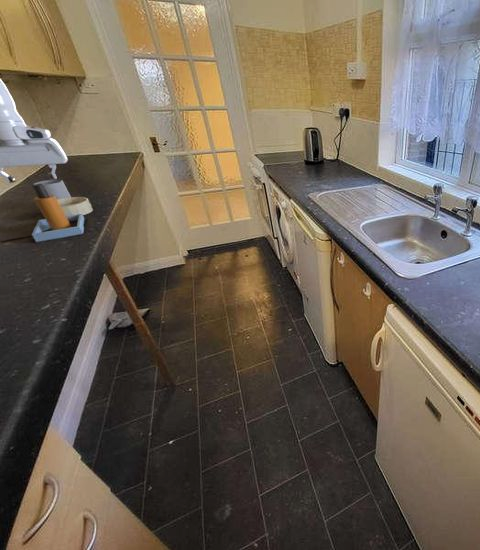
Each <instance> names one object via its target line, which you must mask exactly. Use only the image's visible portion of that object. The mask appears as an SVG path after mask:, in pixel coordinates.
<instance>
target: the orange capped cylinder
mask: <svg viewBox="0 0 480 550" xmlns="http://www.w3.org/2000/svg"><path fill="white" fill-rule="evenodd" d="M31 187H32V189H33V190H34V193H35V194H36V197H34V198H33V200H34V202H35V204H36V206H37V207H38V209H39V210H40V212H41V214H42V216H43V218H44V219H46V221H47V222H48V224H49V226H50V228H49V229H50V230H51V231H52V230H59V229H65V228H71V227H72V225H71V223H70V221H68V219H67V218H66V216H65V214H64V212H63V210H62V208H61V206H60V205H59V203H58V201H57V199H56V197H55V196H54V195H49V194H48V192H47V190H46V189H45V187H44V185H43V184H35V185H34V184H32V185H31Z"/></svg>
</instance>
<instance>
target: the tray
mask: <svg viewBox="0 0 480 550" xmlns="http://www.w3.org/2000/svg"><path fill="white" fill-rule="evenodd" d="M66 218H67V219H68V221H69V222H75V221H77V224H76V226H71V228H65V229H59V230H52V229H51V228H50V226H49V224H48V222H47V221H46V219H45V218H43V219H38V221H37V223H36V225H35V227H34V229H33V231H32V232H31V236H32V238H33V239H34V241H35V242H36V243H39V242H44V241H49V240H56V239H63V238H67V237H72V236H73V237H74V236H77V235H78V236H79V235H83V234H84V231H85V226H84V224H85V217H84V215H82V214H75V215H69V216H66ZM49 229H51V230H49Z"/></svg>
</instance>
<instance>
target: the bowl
mask: <svg viewBox="0 0 480 550" xmlns="http://www.w3.org/2000/svg"><path fill="white" fill-rule="evenodd" d="M57 201H58V203H59V205H60V206H61V208H62V210H63V212H64V214H65V216H69V215H75V214H82V215H83V216H86V215H87V214H90V213H92V212H93V211H94V208H93V206H92V204H91V202H90V200H89V198H88V197H84V196H71V197H70V198H62V199H57Z"/></svg>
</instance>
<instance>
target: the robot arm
mask: <svg viewBox="0 0 480 550" xmlns="http://www.w3.org/2000/svg"><path fill="white" fill-rule="evenodd" d="M68 161H69V159H68V156H67V154H66V152H65V151H64V149H63V147H62V146H61V145H60V143H59V141H57V140H56V139H54V138H52V133H51V131H50V130H49V129H46V128H41V127H38V126H37V127H36V126H33V125H28V124H26V123H25V120H24V119H23V117H22V116H21V115H20V113H19V112H18V110H17V107H16V103H15V101H14V99H13V96H12V95H11V93H10V92H9V89H8V88H7V86H6V84H5V83H4V81H3V80H2V79H1V78H0V176H2V177H3V178H4V179H5V180H6V182H7V183H8V184H11V183H16V182H17V180H16V179H15V177H14V175H9V174H7V173H6V172H5V171H4V168H13V167H28V166H29V167H30V166H45V165H46V166H48V168H49V169H51V172H48V173H47V176H48V177H49V180H58V177H57V175H56V169H57V165H60V164H67V162H68Z"/></svg>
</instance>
